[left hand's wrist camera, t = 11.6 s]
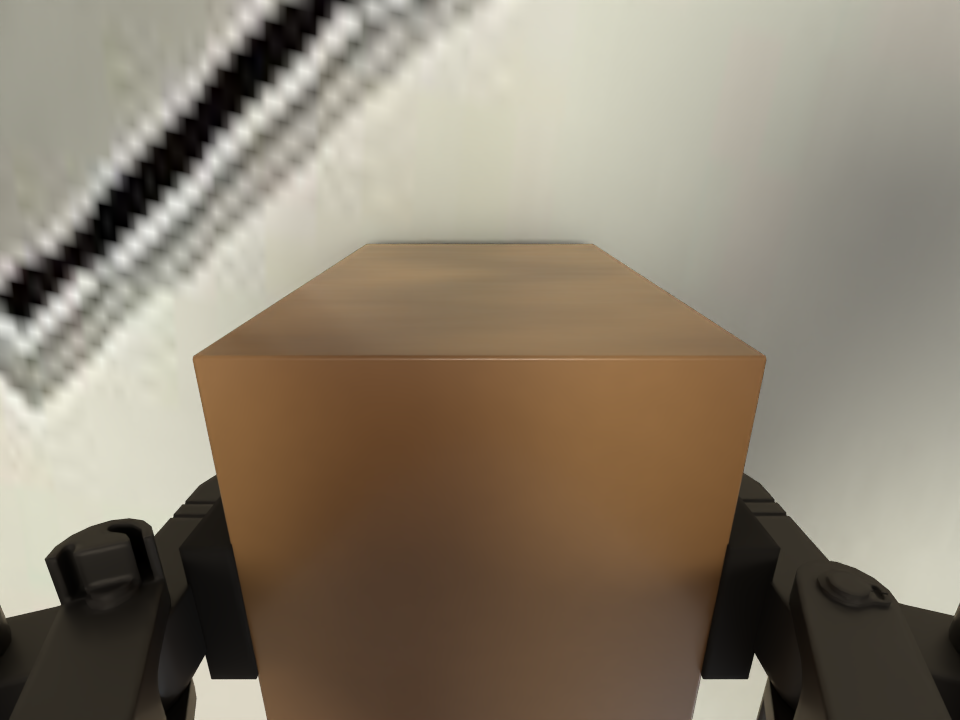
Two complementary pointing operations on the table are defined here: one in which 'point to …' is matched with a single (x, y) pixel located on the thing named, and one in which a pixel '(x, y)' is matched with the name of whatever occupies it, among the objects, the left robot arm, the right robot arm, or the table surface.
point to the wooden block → (479, 485)
